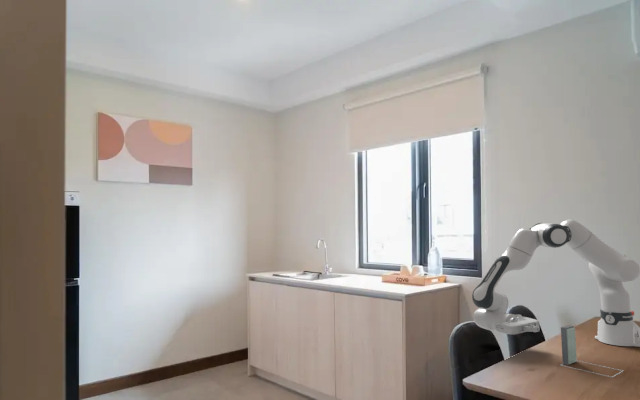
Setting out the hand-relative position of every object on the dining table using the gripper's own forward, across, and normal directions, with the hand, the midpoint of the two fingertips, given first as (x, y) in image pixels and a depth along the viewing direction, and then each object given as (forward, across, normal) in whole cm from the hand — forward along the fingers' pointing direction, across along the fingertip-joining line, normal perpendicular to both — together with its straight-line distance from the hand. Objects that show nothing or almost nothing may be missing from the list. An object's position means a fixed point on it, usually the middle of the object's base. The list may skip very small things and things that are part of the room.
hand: (537, 329), depth 183 cm
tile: (+12, 0, +10) cm, 16 cm away
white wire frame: (+20, 0, +11) cm, 23 cm away
